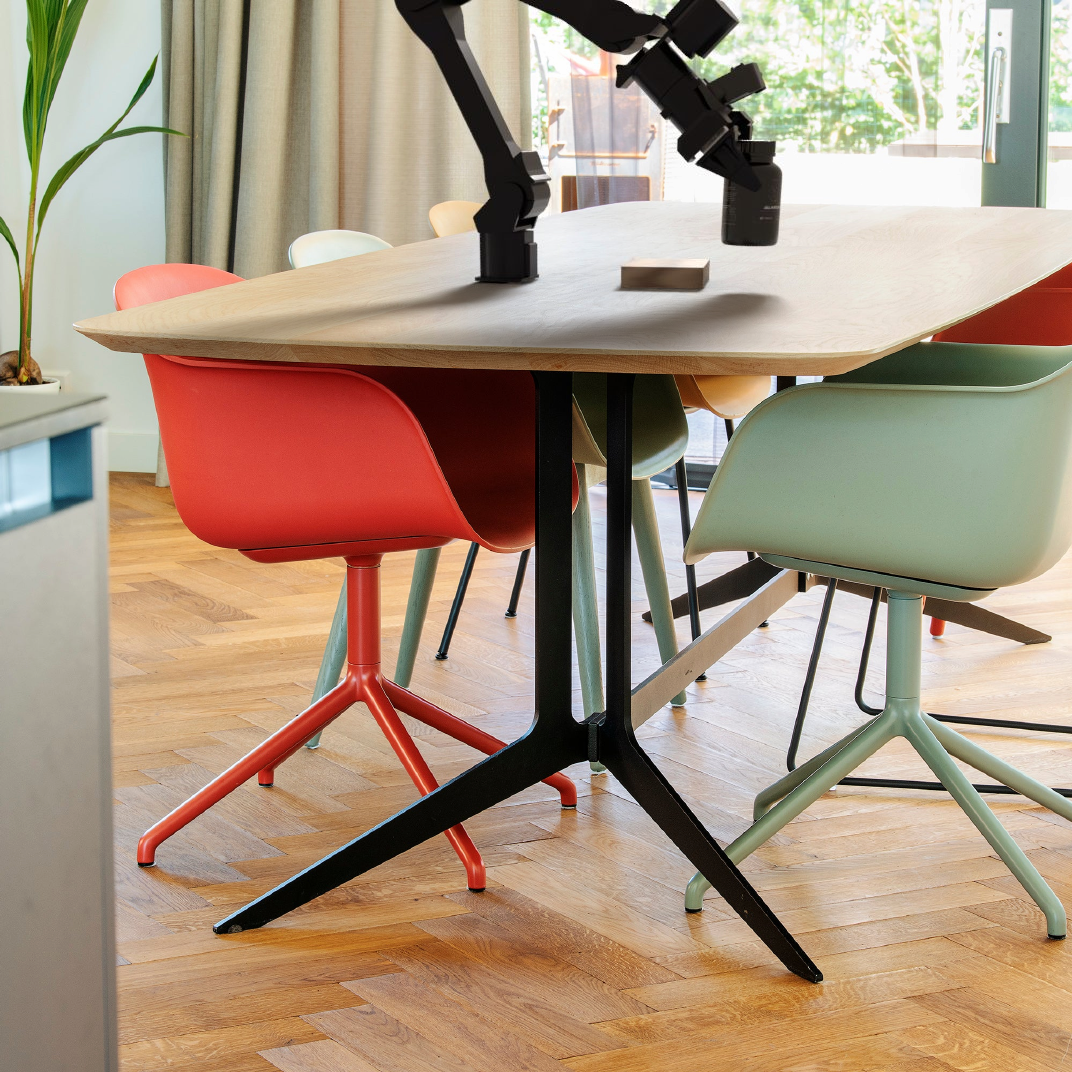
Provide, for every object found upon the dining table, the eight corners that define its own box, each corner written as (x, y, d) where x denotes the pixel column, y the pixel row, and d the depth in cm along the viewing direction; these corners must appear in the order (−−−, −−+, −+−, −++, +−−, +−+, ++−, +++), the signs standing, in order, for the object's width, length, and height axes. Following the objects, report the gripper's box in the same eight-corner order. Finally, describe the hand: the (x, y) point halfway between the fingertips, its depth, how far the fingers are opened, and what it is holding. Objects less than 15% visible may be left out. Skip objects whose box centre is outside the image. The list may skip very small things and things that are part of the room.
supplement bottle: (777, 248, 152) (783, 140, 148) (718, 246, 153) (723, 140, 149) (779, 242, 158) (784, 139, 155) (722, 241, 160) (727, 139, 156)
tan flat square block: (620, 287, 159) (621, 266, 159) (631, 277, 169) (631, 258, 168) (702, 288, 157) (703, 267, 157) (709, 279, 167) (709, 259, 166)
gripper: (709, 32, 141) (805, 138, 141) (740, 41, 158) (825, 136, 158) (637, 108, 146) (730, 211, 146) (674, 109, 163) (757, 202, 163)
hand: (764, 187), depth 153 cm, fingers closed on supplement bottle, 7 cm apart
